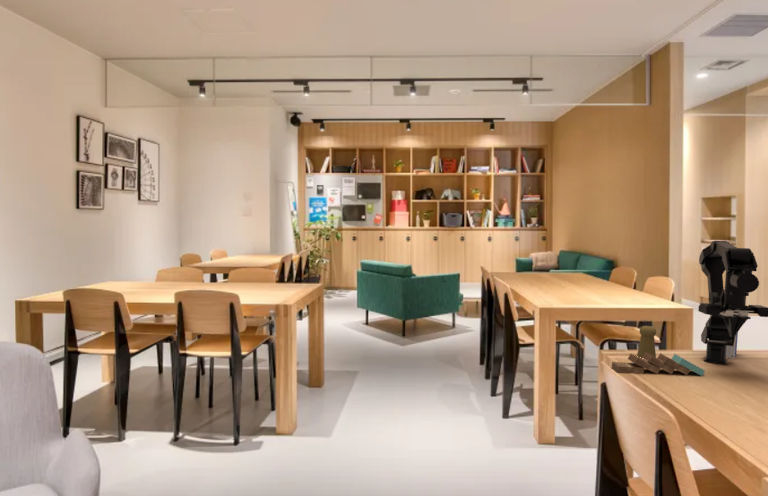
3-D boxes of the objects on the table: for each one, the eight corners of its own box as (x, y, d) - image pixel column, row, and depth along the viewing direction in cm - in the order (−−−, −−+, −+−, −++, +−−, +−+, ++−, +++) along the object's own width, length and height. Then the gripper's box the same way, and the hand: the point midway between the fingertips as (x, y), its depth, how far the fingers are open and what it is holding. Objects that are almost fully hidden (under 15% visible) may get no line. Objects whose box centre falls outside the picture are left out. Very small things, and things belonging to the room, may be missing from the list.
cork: (645, 360, 180) (647, 328, 179) (632, 355, 186) (634, 324, 185) (660, 359, 181) (661, 328, 180) (647, 354, 187) (649, 324, 186)
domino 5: (696, 365, 168) (674, 353, 168) (705, 370, 163) (682, 358, 163) (693, 371, 168) (671, 359, 168) (701, 376, 163) (679, 363, 163)
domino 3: (667, 364, 169) (645, 351, 169) (674, 368, 164) (652, 356, 164) (664, 369, 169) (642, 357, 170) (671, 374, 164) (648, 361, 165)
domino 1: (637, 362, 170) (612, 361, 170) (644, 367, 165) (618, 366, 165) (636, 369, 170) (611, 367, 170) (643, 374, 165) (617, 372, 165)
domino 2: (653, 363, 169) (630, 353, 169) (660, 368, 164) (637, 357, 164) (650, 369, 170) (627, 358, 169) (657, 374, 165) (634, 363, 165)
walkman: (727, 352, 191) (729, 320, 190) (736, 354, 190) (738, 321, 189) (724, 357, 185) (726, 323, 184) (733, 358, 184) (736, 325, 183)
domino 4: (682, 365, 169) (660, 352, 169) (690, 369, 164) (667, 357, 164) (678, 370, 169) (656, 358, 169) (686, 375, 164) (664, 363, 164)
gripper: (752, 285, 171) (749, 332, 172) (691, 283, 173) (688, 329, 174) (773, 290, 160) (770, 340, 161) (708, 288, 162) (705, 338, 163)
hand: (732, 337), depth 165 cm, fingers closed
